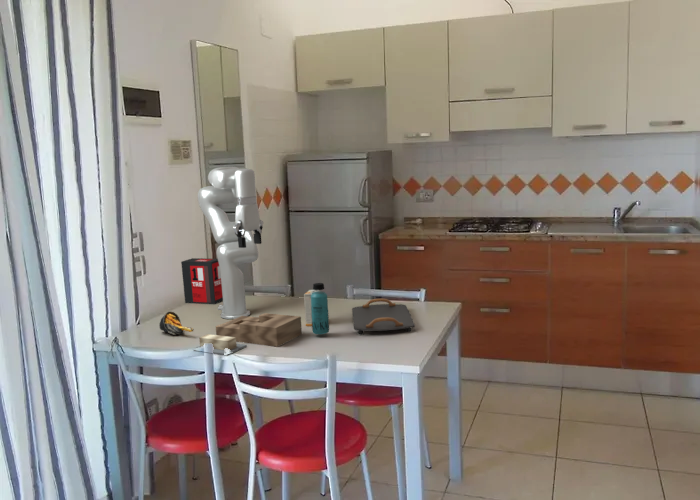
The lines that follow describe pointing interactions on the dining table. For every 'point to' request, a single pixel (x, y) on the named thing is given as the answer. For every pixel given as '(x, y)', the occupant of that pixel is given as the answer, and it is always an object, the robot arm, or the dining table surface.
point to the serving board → (381, 317)
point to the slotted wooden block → (262, 329)
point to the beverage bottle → (319, 310)
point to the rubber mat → (239, 346)
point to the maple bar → (219, 341)
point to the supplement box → (308, 306)
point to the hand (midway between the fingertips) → (250, 245)
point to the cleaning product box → (202, 281)
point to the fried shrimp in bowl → (172, 324)
